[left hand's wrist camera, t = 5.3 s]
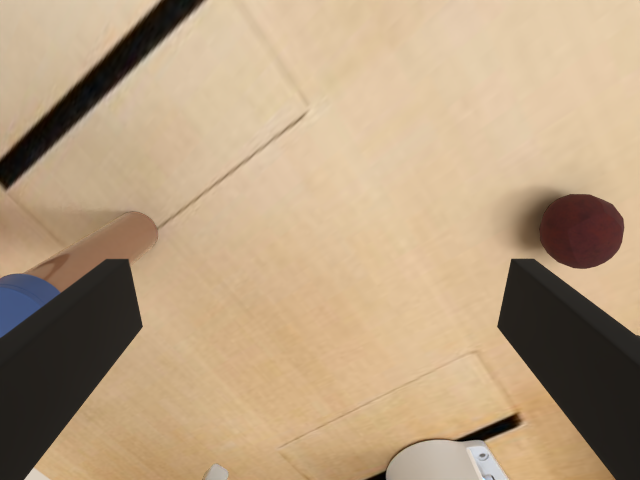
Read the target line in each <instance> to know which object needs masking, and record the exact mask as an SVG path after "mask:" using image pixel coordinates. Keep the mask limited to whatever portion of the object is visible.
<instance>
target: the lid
mask: <svg viewBox="0 0 640 480" xmlns="http://www.w3.org/2000/svg"><path fill="white" fill-rule="evenodd" d="M60 293H61V292H60V291H59V290H58V289H57V288H55V287H54V286H53V285H52V284H50V283H49V282H47V281H45V280H43V279H41V278H39V277H36V276H32V275H28V274H11V275H7V276H4V277H2V278H0V338H1V337H2V336H4V335H5V334H6V333H8V332H9V331H10V330H12V329H13V328H14V327H16V326H17V325H18V324H20V323H21V322H23V321H24V320H25V319H27V318H28V317H29V316H31V315H32V314H33V313H35V312H36V311H37V310H39V309H40V308H41V307H43V306H44V305H45V304H47V303H48V302H49V301H51V300H52V299H53V298H55V297H56V296H57V295H59V294H60Z"/></svg>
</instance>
